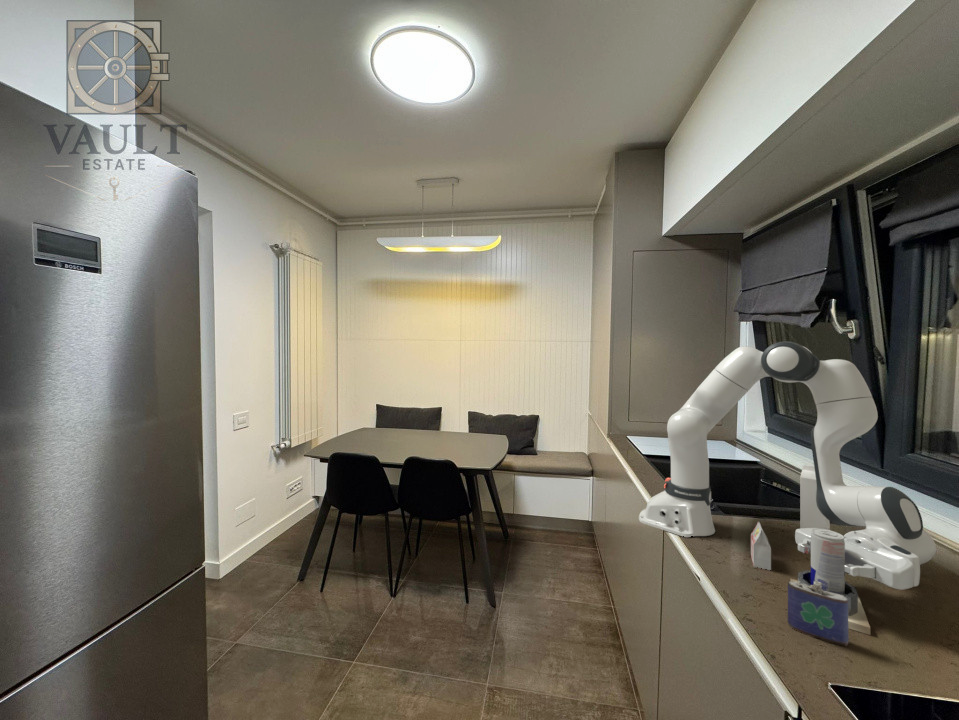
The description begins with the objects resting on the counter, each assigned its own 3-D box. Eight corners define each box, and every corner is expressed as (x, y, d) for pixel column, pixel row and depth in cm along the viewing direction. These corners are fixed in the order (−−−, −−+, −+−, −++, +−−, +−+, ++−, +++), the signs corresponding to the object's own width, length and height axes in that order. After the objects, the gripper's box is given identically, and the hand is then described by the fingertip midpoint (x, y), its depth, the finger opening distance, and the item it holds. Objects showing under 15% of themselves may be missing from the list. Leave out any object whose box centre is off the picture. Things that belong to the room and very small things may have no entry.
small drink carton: (767, 558, 105) (766, 522, 105) (771, 570, 99) (770, 532, 99) (750, 555, 107) (750, 520, 107) (753, 566, 101) (753, 529, 101)
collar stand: (792, 611, 83) (792, 586, 83) (790, 584, 93) (790, 562, 93) (870, 635, 76) (870, 608, 76) (859, 603, 85) (859, 579, 85)
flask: (847, 640, 75) (847, 586, 74) (849, 650, 72) (849, 594, 72) (787, 620, 80) (787, 570, 80) (787, 628, 78) (787, 577, 78)
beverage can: (851, 605, 82) (851, 537, 83) (832, 609, 81) (832, 539, 81) (822, 590, 88) (823, 526, 88) (804, 594, 87) (804, 528, 87)
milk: (826, 545, 112) (826, 471, 112) (799, 537, 117) (800, 466, 116) (829, 538, 116) (830, 467, 116) (804, 531, 121) (804, 462, 120)
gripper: (819, 518, 97) (776, 524, 94) (929, 560, 77) (880, 569, 74) (819, 543, 97) (776, 549, 94) (929, 590, 78) (880, 601, 74)
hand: (823, 559), depth 84 cm, fingers open, 8 cm apart
